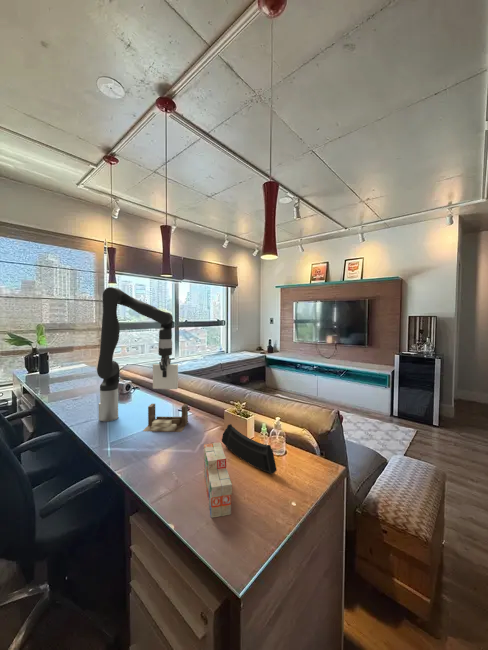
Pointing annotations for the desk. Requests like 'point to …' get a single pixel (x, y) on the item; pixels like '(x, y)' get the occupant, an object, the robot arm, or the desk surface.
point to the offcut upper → (161, 423)
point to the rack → (179, 421)
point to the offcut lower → (164, 428)
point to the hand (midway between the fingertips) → (165, 376)
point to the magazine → (249, 450)
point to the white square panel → (168, 381)
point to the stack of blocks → (217, 480)
